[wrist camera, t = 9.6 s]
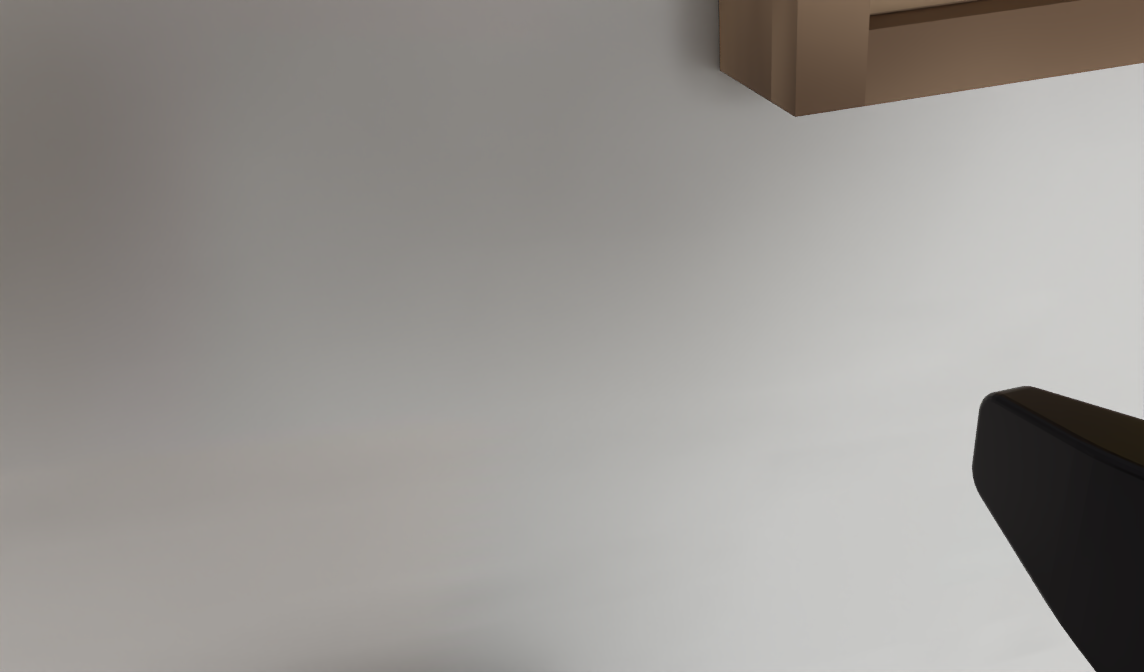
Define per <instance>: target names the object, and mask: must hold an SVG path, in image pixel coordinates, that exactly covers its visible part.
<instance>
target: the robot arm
mask: <svg viewBox="0 0 1144 672" xmlns="http://www.w3.org/2000/svg"><path fill="white" fill-rule="evenodd" d="M972 472H973V479H974V483H975V486H976V488H977V491H978V493H979V495H980V496H981V498H982V500H983V501H984V503H985V504H986V506H987V508H988V509H989V511H990V513H991V514H992V516H993V517H994V519H995V521H996V522H997V524H998V526H999V527H1000V529H1001V530H1002V532H1003V534H1004V535H1005V537H1006V538H1007V540H1008V542H1009V543H1010V545H1011V547H1012V548H1013V550H1014V551H1015V553H1016V555H1017V556H1018V558H1019V559H1020V561H1021V563H1022V564H1023V566H1024V568H1025V569H1026V571H1027V572H1028V574H1029V576H1030V577H1031V579H1032V581H1033V582H1034V584H1035V585H1036V587H1037V589H1038V590H1039V592H1040V593H1041V595H1042V597H1043V598H1044V600H1045V602H1046V603H1047V605H1048V606H1049V608H1050V609H1051V611H1052V612H1053V614H1054V615H1055V617H1056V618H1057V620H1058V621H1059V623H1060V624H1061V626H1062V627H1063V628H1064V630H1065V631H1066V633H1067V634H1068V635H1069V637H1070V638H1071V639H1072V641H1073V642H1074V644H1075V645H1076V646H1077V648H1078V649H1079V650H1080V652H1081V653H1082V654H1083V655H1084V657H1085V658H1086V659H1087V661H1088V662H1089V663H1090V665H1091V666H1092V667H1093V668H1094V670H1095V671H1096V672H1144V420H1142V419H1139V418H1136V417H1132V416H1129V415H1126V414H1122V413H1119V412H1116V411H1112V410H1109V409H1106V408H1102V407H1099V406H1096V405H1092V404H1089V403H1086V402H1082V401H1079V400H1076V399H1072V398H1069V397H1065V396H1062V395H1059V394H1055V393H1052V392H1049V391H1045V390H1042V389H1039V388H1035V387H1031V386H1021V387H1016V388H1012V389H1007V390H1002V391H998V392H993V393H990V394H989V395H987V396H986V397H985V398H984V399H983V401H982V403H981V405H980V409H979V415H978V423H977V431H976V439H975V447H974V455H973V463H972Z"/></svg>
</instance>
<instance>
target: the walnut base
mask: <svg viewBox="0 0 1144 672" xmlns="http://www.w3.org/2000/svg"><path fill="white" fill-rule="evenodd" d="M719 36H720V71H722V72H723V73H725V74H727V75H728V76H730V77H732V78H733V79H735V80H736V81H738V82H740V83H741V84H743V85H745V86H746V87H748V88H749V89H751V90H753V91H754V92H756V93H757V94H759V95H761V96H762V97H764V98H766V99H767V100H769V101H770V102H772V103H774V104H775V105H777V106H779V107H780V108H782V109H783V110H785V111H787V112H788V113H790V114H792V115H793V116H795V117H797V116H804V115H810V114H817V113H823V112H830V111H836V110H842V109H849V108H855V107H862V106H868V105H875V104H881V103H887V102H894V101H900V100H907V99H913V98H920V97H926V96H933V95H939V94H945V93H952V92H958V91H965V90H971V89H978V88H984V87H990V86H997V85H1003V84H1010V83H1016V82H1023V81H1029V80H1036V79H1042V78H1048V77H1055V76H1061V75H1068V74H1074V73H1081V72H1087V71H1093V70H1100V69H1106V68H1113V67H1119V66H1126V65H1132V64H1139V63H1144V0H719Z"/></svg>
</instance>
